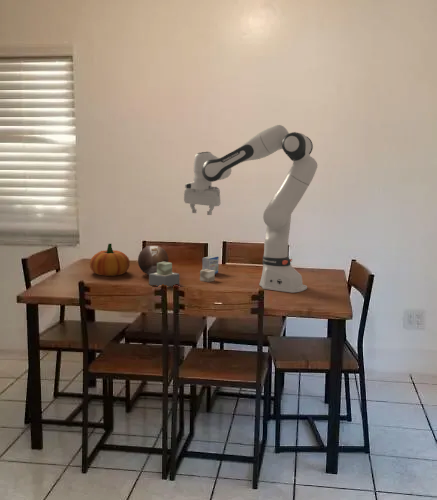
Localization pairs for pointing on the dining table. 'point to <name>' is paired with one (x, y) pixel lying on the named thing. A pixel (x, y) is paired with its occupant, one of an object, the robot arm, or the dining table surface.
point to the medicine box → (211, 263)
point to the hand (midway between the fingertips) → (201, 214)
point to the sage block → (164, 268)
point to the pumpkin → (109, 262)
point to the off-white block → (207, 275)
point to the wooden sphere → (151, 258)
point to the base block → (163, 279)
